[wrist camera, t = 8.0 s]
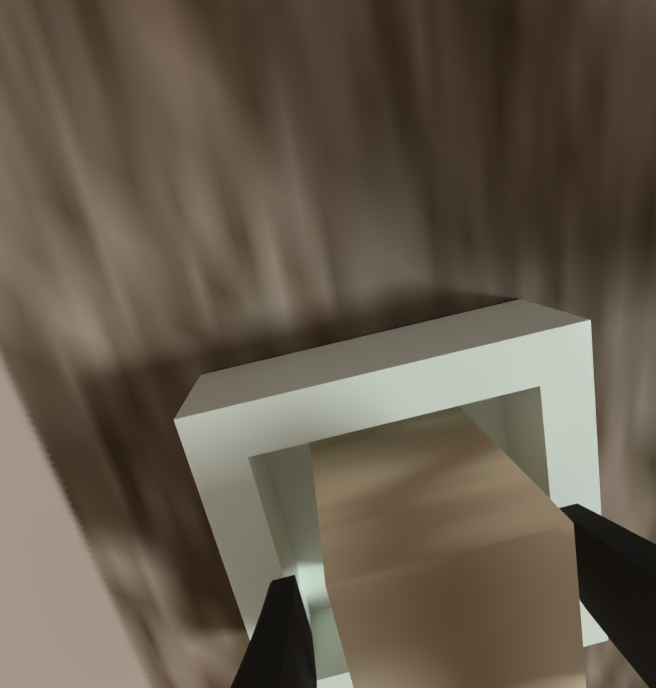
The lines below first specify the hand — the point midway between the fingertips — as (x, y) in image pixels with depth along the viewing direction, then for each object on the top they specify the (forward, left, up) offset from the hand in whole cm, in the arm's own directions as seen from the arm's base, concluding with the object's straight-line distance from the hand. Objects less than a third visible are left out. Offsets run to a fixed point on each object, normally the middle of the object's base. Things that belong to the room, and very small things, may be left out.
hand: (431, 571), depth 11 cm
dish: (0, 0, -4) cm, 4 cm away
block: (0, 0, -4) cm, 4 cm away
